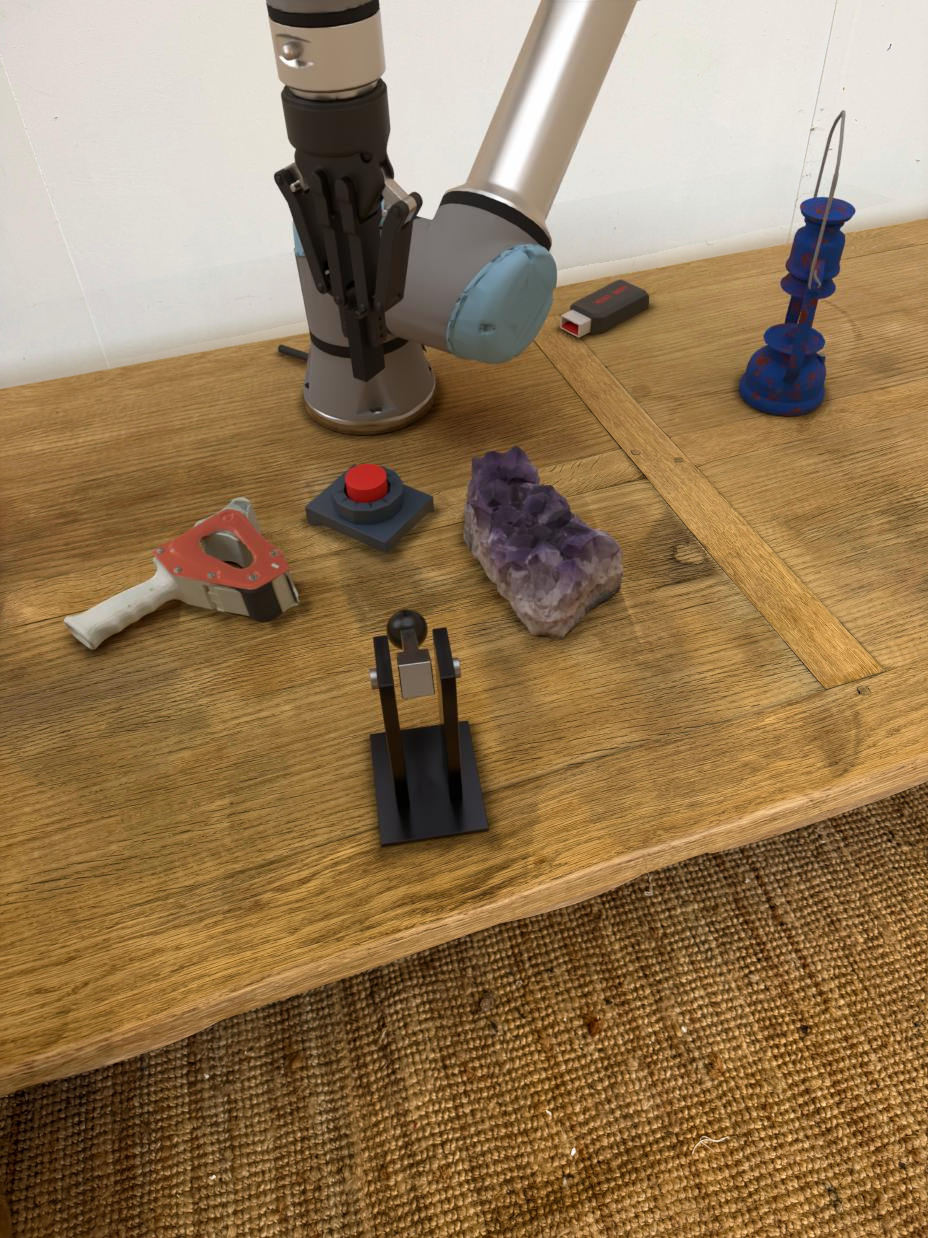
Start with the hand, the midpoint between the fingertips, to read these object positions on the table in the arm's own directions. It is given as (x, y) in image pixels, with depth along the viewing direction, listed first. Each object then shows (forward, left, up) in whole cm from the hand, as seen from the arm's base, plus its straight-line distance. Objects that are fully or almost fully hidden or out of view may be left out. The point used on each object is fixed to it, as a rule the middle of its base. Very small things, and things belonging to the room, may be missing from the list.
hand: (369, 372), depth 83 cm
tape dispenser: (-8, -19, -17) cm, 26 cm away
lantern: (+26, +40, -17) cm, 51 cm away
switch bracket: (+22, -25, -16) cm, 37 cm away
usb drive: (+1, +45, -17) cm, 48 cm away
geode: (+16, +1, -17) cm, 23 cm away
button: (-1, -2, -13) cm, 13 cm away
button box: (-1, -2, -16) cm, 16 cm away
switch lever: (+20, -22, -6) cm, 30 cm away
